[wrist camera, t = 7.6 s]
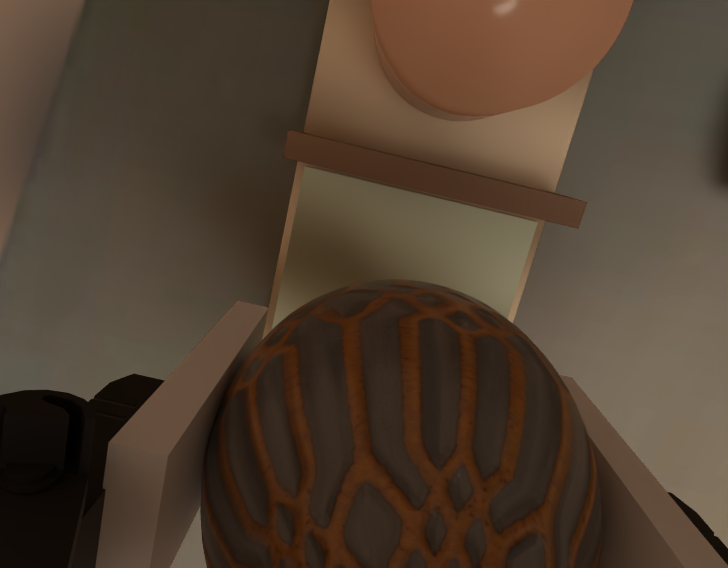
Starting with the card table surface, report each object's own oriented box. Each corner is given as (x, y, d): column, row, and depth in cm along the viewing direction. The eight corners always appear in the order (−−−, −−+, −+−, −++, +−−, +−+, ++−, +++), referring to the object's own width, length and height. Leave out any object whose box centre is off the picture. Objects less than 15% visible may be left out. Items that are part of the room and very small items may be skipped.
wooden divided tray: (369, -173, 18) (365, -272, 14) (636, -105, 18) (714, -181, 14) (256, 391, 23) (227, 447, 19) (466, 439, 23) (485, 506, 19)
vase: (281, 222, 13) (100, 366, 4) (564, 286, 13) (905, 539, 5) (233, 476, 15) (36, 934, 6) (486, 529, 15) (633, 1042, 6)
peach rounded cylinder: (398, -98, 17) (406, -221, 12) (582, -51, 18) (682, -149, 12) (355, 98, 19) (343, 77, 13) (525, 139, 19) (588, 138, 13)
